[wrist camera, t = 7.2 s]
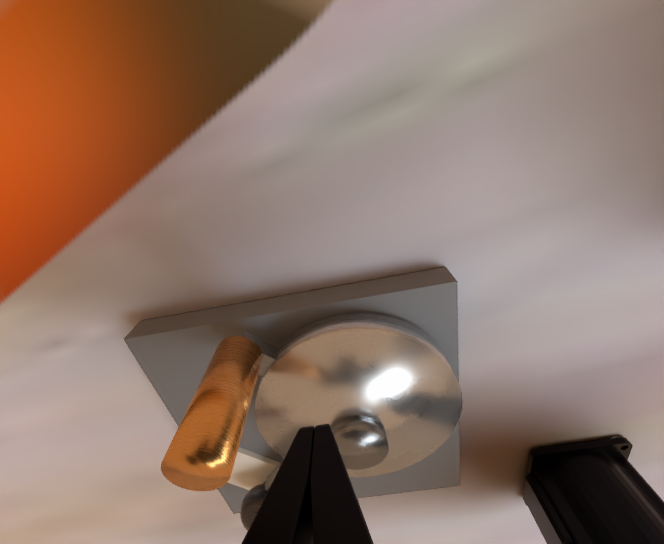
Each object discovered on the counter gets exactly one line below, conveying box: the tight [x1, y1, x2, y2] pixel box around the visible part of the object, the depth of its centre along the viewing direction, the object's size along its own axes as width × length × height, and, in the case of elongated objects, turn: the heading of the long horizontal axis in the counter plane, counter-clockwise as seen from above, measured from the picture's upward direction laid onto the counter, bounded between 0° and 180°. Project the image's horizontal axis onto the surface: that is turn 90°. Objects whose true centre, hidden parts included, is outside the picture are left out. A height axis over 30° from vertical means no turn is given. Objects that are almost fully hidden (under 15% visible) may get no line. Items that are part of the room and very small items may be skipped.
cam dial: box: [161, 313, 462, 530], centre depth 14 cm, size 16×12×6 cm
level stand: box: [124, 267, 460, 514], centre depth 18 cm, size 16×16×2 cm
